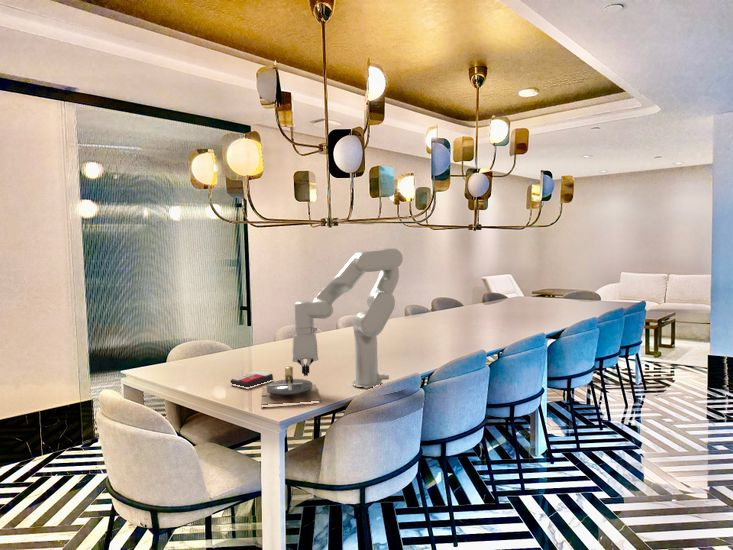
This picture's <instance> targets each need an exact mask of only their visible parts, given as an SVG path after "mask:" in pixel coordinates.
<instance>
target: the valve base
mask: <svg viewBox="0 0 733 550" xmlns="http://www.w3.org/2000/svg"><path fill="white" fill-rule="evenodd" d="M316 385H317V384H316V383H315V384H314V383H312V389H311V390H310V391H308V392H306V393H302V394H297V395H287V396H282V395H273V394H270V393H268V392H267V387H262V391H261V400H260V406H261V405H268V404H283V403H300V402H311V401H320V402H321V399H320V396H319V395H320V394H319V392H318V388H317V386H316Z"/></svg>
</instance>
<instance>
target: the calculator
mask: <svg viewBox="0 0 733 550" xmlns="http://www.w3.org/2000/svg"><path fill="white" fill-rule="evenodd" d="M270 380H273V381H274V376H273V373H270V372H266V371H259V370H254V371H251V372H247V373H245V374H242V375H238V376H235V377H233V378H231V379H230V384H231V383H232V384H236V385H240V386H244V387H250V386H254V385H257V384H261V383H264V382H267V381H270Z"/></svg>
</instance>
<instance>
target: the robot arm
mask: <svg viewBox="0 0 733 550" xmlns="http://www.w3.org/2000/svg"><path fill="white" fill-rule="evenodd" d="M403 260H404V258H403V254H402V252H401V251H400V250H398V249H397V248H391V247H387V248H386V247H385V248H381V249H379V250H369V251H365V250H364V251H363V250H362V251H357V252H355V253H354V254H353V255H352V256H351V257H350V259H349V260H347V262H346V264H345V265H344V266H343V268H342V269H341V270H340V271H339V272H338V273H337V274H336V276H335V277H334V278H332V279H331V281H329V282H328V284H326V285H325V287H323V288H322V290H320V292H319V293H318V294H317V295H316V297H315V298H314V299H313V300H312V301H310V300H299V301H296V302H295V304H294V322H295V323H294V324H295V325H294V326H295V328H294V329H295V331H294V333H295V334H293V337H292V359H291V361H292V363H298V364H299V365H300V366H301V373H302V374H303V376H304V377H307V376H309V374H310V366H311V365H312V363H313V362H317V361H319V357H318V356H319V355H318V354H319V353H318V352H319V350H318V341H317V335H316V333H315V332H318V328H317V327H315V326H314V325H315V324H314V321H315V320H314V319H317V320H318V319H319V320H325V319H326V320H327V319H328V318H330V317H331V316H332V315H333V312H334V307H333V304H334V303H335V301H337V299H338V298H340V297H341V296H342V295H344V294H346V293H348V292H350V291H351V290H352V289H354V287H355V285H356V284H357V283H359V281H360V279H361V278H362V277H364V275H365V273H371V272H372V273H373V272H379V274H378V277H377V280H376V281H375V283H374V285H373V287H372V289H371V291H370V292H369V294H368V296H367V299H366V304H367V306H368V310H367V311H366V310H362V311H359V312H358V313H356V315H354V317H353V321H352V329H353V336H354V353H355V354H354V357H355V359H354V360H355V379H354V380H353V381H352V382H351V385H352V384H353V385H355V386H361V387H373V386H376V385H379V384H381V383H382V381H383V380H385V381H386V380H387V381H388V380H390V375H389V374H380V373H379V368H378V365H379V364H378V361H379V359H378V337H377V336H379V335H380V334H381V333H382V332H383V330H384V328H385V326H386V324H387V323H388V321H389V319H390V317H391V316H392V314H393V311H394V309H395V306H396V300H395V297H394V295H393V293H394V292H395V289H396V288H397V285H398V282H399V279H400V270H399V267H400V266H401V265H402V263H403ZM304 360H306V363H305V361H304ZM353 385H352V386H353ZM381 385H382V384H381Z"/></svg>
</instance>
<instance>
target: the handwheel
mask: <svg viewBox="0 0 733 550" xmlns="http://www.w3.org/2000/svg"><path fill="white" fill-rule="evenodd" d="M293 368H294V367H293V366H285V367H284V378H285V379H281V380H275V381H273V382H270V383H267V385H266V388H267V392H268V393H270V394H273V395H282V396H287V395H297V394H302V393H306V392H308V391H310V390H311V389H312V385H313V382H312V381H311V380H307V379H301V378H294V369H293Z"/></svg>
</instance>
